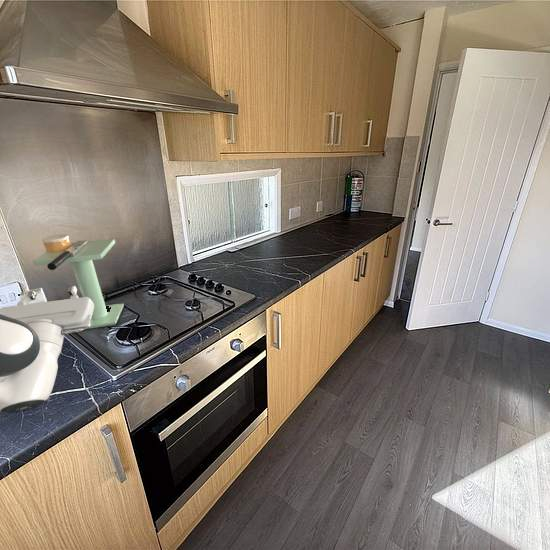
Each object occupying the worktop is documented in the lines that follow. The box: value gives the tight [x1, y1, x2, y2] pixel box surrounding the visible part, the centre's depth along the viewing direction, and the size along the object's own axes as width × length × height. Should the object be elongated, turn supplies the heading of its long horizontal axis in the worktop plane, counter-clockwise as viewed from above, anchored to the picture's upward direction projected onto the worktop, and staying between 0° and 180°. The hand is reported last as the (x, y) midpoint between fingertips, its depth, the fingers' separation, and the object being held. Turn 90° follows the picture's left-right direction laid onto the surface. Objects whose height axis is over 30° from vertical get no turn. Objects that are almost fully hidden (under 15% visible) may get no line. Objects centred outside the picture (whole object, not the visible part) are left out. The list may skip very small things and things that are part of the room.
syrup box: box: [19, 287, 48, 304], centre depth 96 cm, size 6×6×14 cm
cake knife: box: [46, 239, 89, 271], centre depth 89 cm, size 25×3×2 cm, turn 15°
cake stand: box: [32, 233, 125, 330], centre depth 99 cm, size 18×18×30 cm
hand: (52, 289), depth 77 cm, fingers open, 8 cm apart
